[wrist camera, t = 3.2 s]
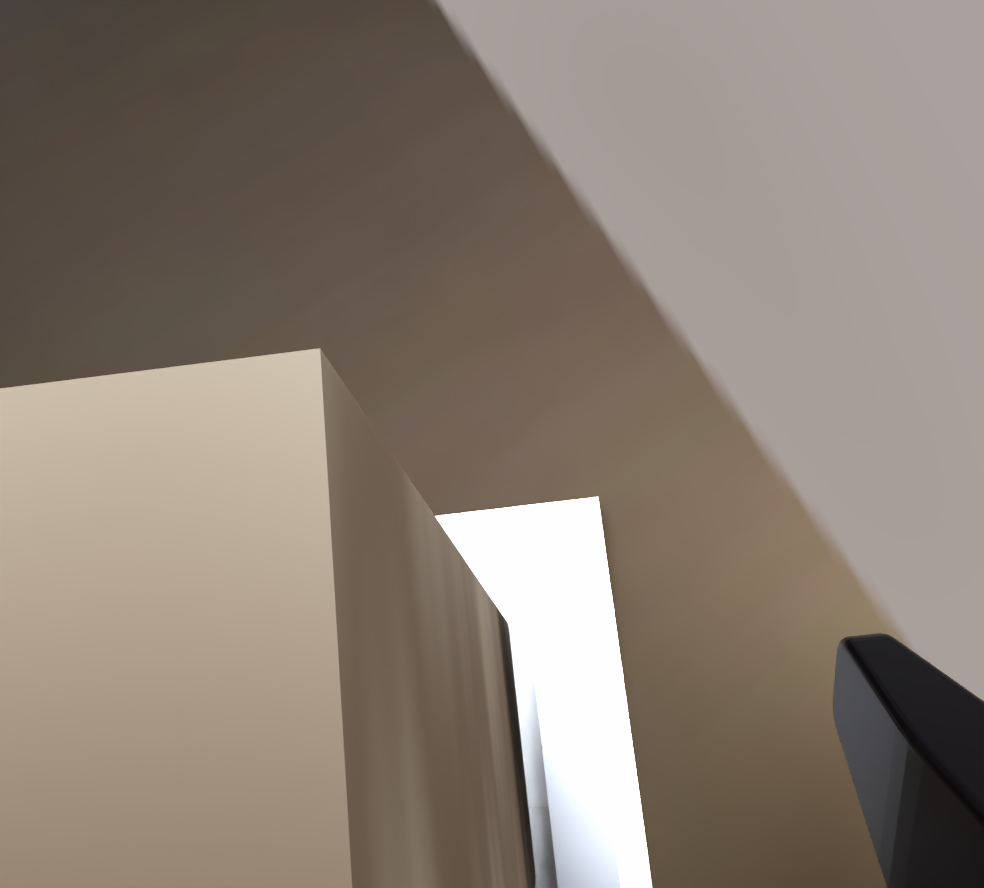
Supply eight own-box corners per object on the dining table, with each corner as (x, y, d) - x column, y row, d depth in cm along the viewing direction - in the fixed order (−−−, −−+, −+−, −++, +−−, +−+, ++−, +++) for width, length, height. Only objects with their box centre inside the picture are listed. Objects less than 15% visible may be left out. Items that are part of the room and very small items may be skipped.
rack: (662, 988, 15) (697, 1086, 11) (299, 1024, 15) (211, 1131, 12) (595, 508, 17) (605, 453, 14) (277, 545, 18) (198, 501, 14)
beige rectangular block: (536, 878, 15) (409, 1817, 2) (386, 893, 15) (-493, 1871, 2) (508, 624, 16) (320, 345, 3) (369, 639, 16) (-305, 428, 4)
